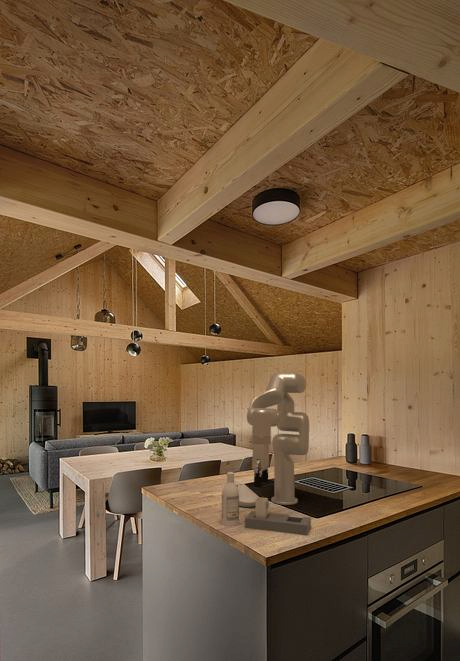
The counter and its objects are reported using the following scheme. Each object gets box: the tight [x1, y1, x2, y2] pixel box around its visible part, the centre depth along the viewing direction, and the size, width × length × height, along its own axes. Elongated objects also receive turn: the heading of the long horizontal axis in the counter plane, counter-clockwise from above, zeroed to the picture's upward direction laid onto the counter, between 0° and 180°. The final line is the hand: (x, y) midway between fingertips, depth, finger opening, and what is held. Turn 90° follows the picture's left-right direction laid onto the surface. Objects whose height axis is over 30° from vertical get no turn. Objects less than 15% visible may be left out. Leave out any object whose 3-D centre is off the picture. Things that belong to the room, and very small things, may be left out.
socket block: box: [244, 510, 312, 536], centre depth 161 cm, size 10×24×4 cm, turn 71°
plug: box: [255, 496, 270, 519], centre depth 164 cm, size 4×5×10 cm
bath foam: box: [221, 471, 240, 527], centre depth 167 cm, size 7×7×20 cm
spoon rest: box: [236, 483, 259, 508], centre depth 197 cm, size 24×12×7 cm, turn 13°
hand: (261, 484), depth 165 cm, fingers open, 9 cm apart
